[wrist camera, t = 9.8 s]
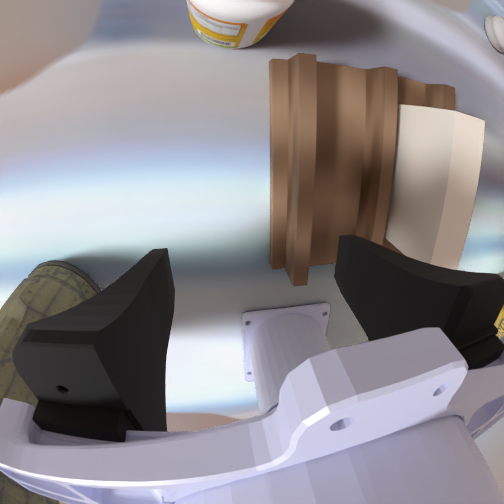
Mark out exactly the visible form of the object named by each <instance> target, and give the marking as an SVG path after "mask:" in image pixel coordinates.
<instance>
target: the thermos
mask: <svg viewBox="0 0 504 504" xmlns="http://www.w3.org/2000/svg"><path fill="white" fill-rule="evenodd" d="M99 292H101V290H100V289H99V287H98V286H97V285H96V284H95V283H94V281H93V280H92V279H91V278H90V277H89V276H88V275H87V274H85V273H84V272H82V271H81V270H80V269H78V268H77V267H75V266H72V265H70V264H67V263H64V262H61V261H47V262H45V263H42V264H39V265H38V266H37V267H36V268H35V269H34V270H33V271H32V272H31V273H30V275H29V276H28V278H26V279H24V280H23V281H22V282H21V283H20V284H19V286H18V287H17V288H16V289H15V290H14V292H13V293H12V294H11V296H10V297H9V298H8V300H7V301H6V302H5V304H4V305H3V306H2V308H1V309H0V407H1V404H2V402H3V399H4V398H8V399H12V400H16V401H20V402H25V403H28V404H30V405H32V406H33V407H35V408H36V406H37V403H38V399H37V398H36V396H35V395H34V394H33V392H32V391H31V390H30V388H29V387H28V386H27V384H26V383H25V382H24V380H23V379H22V378H21V376H20V375H19V373H18V371H17V370H16V368H15V366H14V362H13V359H12V350H13V349H14V347H15V345H16V343H17V341H18V339H19V338H20V336H21V334H22V332H23V331H24V329H25V327H26V325H27V324H28V323H31V322H34V321H38V320H41V319H44V318H47V317H50V316H53V315H56V314H58V313H61V312H63V311H65V310H68V309H70V308H72V307H74V306H76V305H78V304H80V303H82V302H84V301H86V300H87V299H89V298H91V297H93V296H95V295H96V294H98V293H99ZM0 504H60V503H59V501H58V500H55V499H52V498H49V497H46V496H43V495H40V494H38V493H35V492H32V491H30V490H28V489H26V488H25V487H23V486H22V485H20V484H19V483H17V482H16V481H14V480H13V479H11V478H10V477H8V476H7V475H6V474H4V473H3V472H1V471H0Z"/></svg>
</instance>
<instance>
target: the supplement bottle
mask: <svg viewBox="0 0 504 504" xmlns="http://www.w3.org/2000/svg"><path fill="white" fill-rule="evenodd" d="M293 2H294V0H187V5H188V9H189V14H190V19H191V23H192V26H193V28H194V30H195V32H196V33H197V34H198V35H199V36H200V37H201V38H202V39H203V40H204V41H206V42H207V43H209V44H211V45H213V46H216V47H220V48H225V49H238V48H244V47H247V46H250V45H252V44H254V43H256V42H258V41H259V40H261V39H262V38H263V37H264V36H265V35H266V34H267V33H268V32H269V31H270V29H271V28H272V27H273V26H274V24H275V23H276V22H277V21H278V20H279V18H280V17H281V16H282V15H283V14H284V13H285V12H286V10H287V9H288V8H289V7H290V6H291V5H292V3H293Z"/></svg>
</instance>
